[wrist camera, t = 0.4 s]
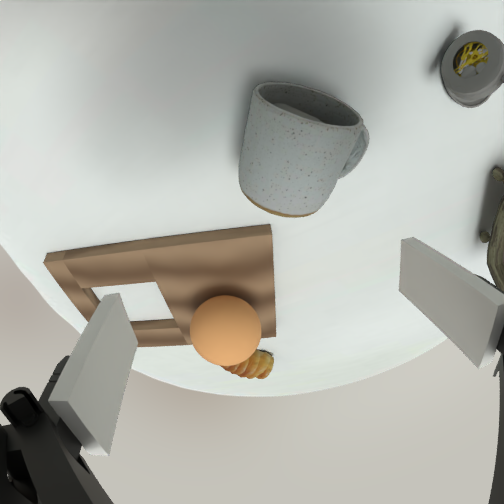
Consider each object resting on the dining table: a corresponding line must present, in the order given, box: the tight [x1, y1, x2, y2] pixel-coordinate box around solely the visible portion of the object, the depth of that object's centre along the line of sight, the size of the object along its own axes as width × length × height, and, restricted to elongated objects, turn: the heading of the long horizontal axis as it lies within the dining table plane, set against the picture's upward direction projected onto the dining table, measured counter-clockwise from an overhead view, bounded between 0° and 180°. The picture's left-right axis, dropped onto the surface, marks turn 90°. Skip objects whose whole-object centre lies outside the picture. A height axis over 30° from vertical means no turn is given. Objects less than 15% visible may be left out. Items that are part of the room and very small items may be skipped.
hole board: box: [43, 224, 276, 347], centre depth 38 cm, size 20×26×2 cm
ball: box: [190, 295, 261, 366], centre depth 35 cm, size 8×8×8 cm
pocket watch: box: [441, 30, 504, 108], centre depth 16 cm, size 8×8×10 cm
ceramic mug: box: [239, 82, 369, 217], centre depth 22 cm, size 11×8×8 cm
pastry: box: [220, 350, 274, 379], centre depth 51 cm, size 9×7×4 cm
